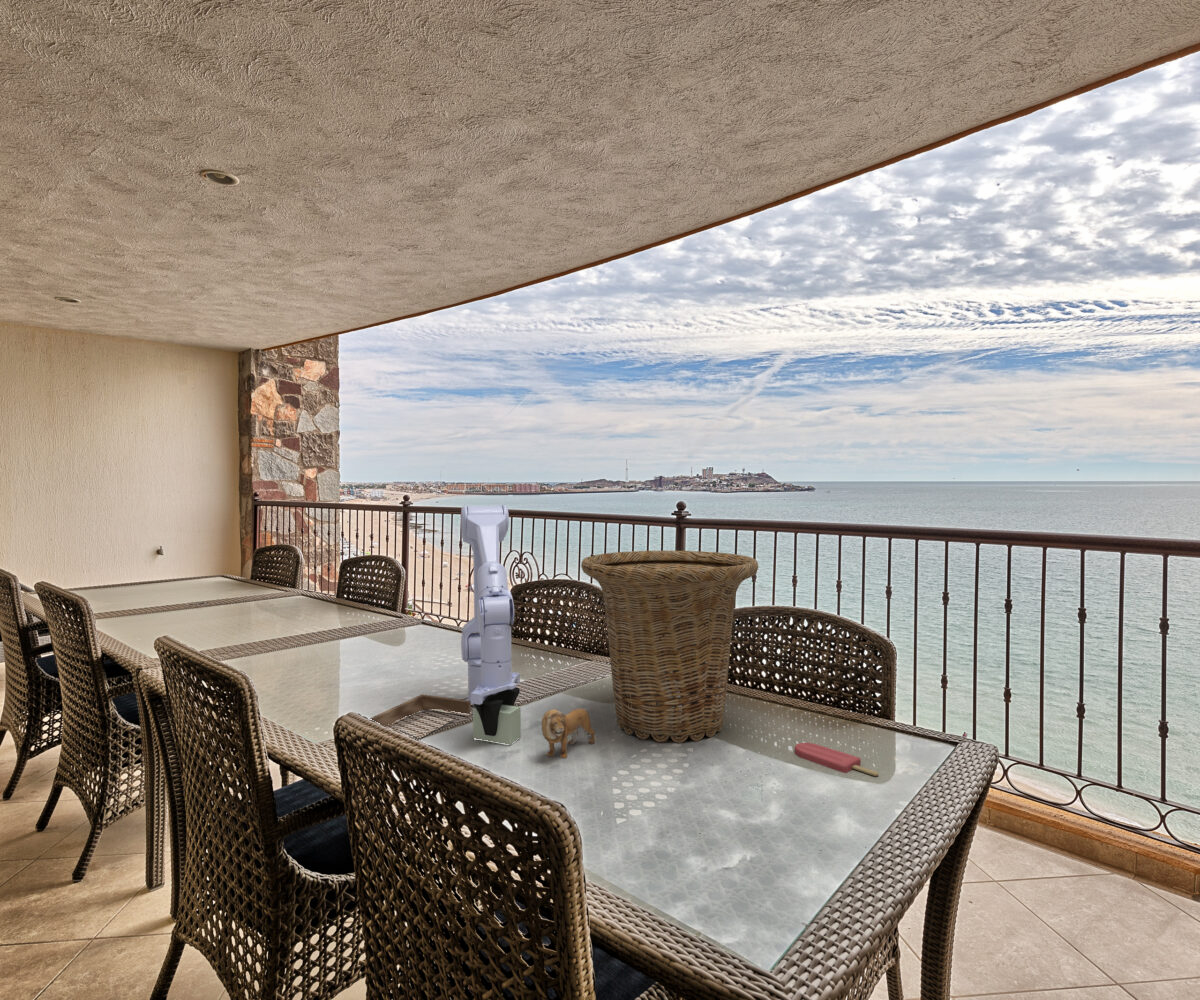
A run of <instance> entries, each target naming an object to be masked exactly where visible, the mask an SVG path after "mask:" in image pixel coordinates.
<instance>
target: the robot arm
mask: <svg viewBox="0 0 1200 1000" xmlns="http://www.w3.org/2000/svg"><path fill="white" fill-rule="evenodd" d="M460 513H461V514H460V527H461V529H460V530H461V539H462V542H464V543H466V544H468V545H470V547H471V550H472V553H473V554H472V555H473V556H472V561H473V565H472V566H473V617H472V619H470V620H469V621H467V623H465V624H464V625H463V626H462V629H461V640H460V643H461V644H460V645H461V646H460V647H461V649H460V650H461V651H460V652H461V659H462V661H463V662H465V663H467V684H468V686H467V688H468V689H467V693H468V695H467V696H468V697H467V698H465V699H464V700H467V701H471V704H473V705H474V706H473V707H474V708H476V709H477V711H478V713H479V716H480V718H481V722H482V725H483V729H484V733H485V735H489V736H495V735H496V733H497V727H498V716H499V711H500V708H501V705H509V706H515V703H516V701H517V699H518V696H519V695H520V692H521V689H520V687H518V684H520V682H521V679H520V678H521V673H520V672H513V671H512V626H513V625H514V620H515V604H514V598H513V595H512V592H511V590H509V583H508V573H507V568H506V567H505V566H504V565H502V564H501V563H500V543H501V542H503V541H504V539H505V537H506V535H507V532H508V531H509V526H510V524H509V519H510V518H509V516H510V515H509V508H508V507H507V506H506V505H505V504H501V505H465V504H463V506H462V507H461V511H460Z"/></svg>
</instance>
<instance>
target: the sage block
mask: <svg viewBox="0 0 1200 1000" xmlns="http://www.w3.org/2000/svg"><path fill="white" fill-rule="evenodd" d="M521 712H522V711H521V706H516V705H514V706H509V705H501V708H500V711H499V716H498V727H497V733H496V735H495V736H489V735H485V733H484V729H483V725H482V722H481V718H480V716H479V713H478V711H477V709H476V708H475V707H473V708H472V739H473V738H476V739H482V740H488V741H493V742H499V743H505V744H509V745H510V744H512V743H513V742H514V741H516V740H517V739H518V738H520V737H521V738H522V734H521V733H522V731H521V730H522V727H521V725H522V724H521V723H522V722H521V720H522V719H521V716H522V715H521ZM512 745H513V744H512Z"/></svg>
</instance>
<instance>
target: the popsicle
mask: <svg viewBox="0 0 1200 1000" xmlns="http://www.w3.org/2000/svg"><path fill="white" fill-rule="evenodd" d="M794 754H795V756H798V757H799V758H801V759H804V760H807V761H808V762H812V763H815V764H818V765H821V766H824V767H826V768H829V769H832V770H835V771H838V772H840V773H844V774H846V773H848V772H850V771H852V770H856V771H858V772H862V773H865V774H868V775H870V776H874V777H878V776H879V772H878V771H877V770H876V771H875V770H872V769H869V768H866V767H864V766H861V765H862V761H861V760H862V759H861V758H860V757H858V756H855V755H852V754H850V753H845V752H842V751H839V750H837V749H836V750H835V749H834V748H833V749H832V748H829V747H826V746H823V745H820V744H816V743H811V742H800V743H797V744H796V745H795V746H794Z"/></svg>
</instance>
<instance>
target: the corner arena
mask: <svg viewBox="0 0 1200 1000" xmlns="http://www.w3.org/2000/svg"><path fill="white" fill-rule="evenodd" d="M429 709H443V710H448V711H455V712H461V713H470V712H471V713H472V706H471V701H467V700H465V699H461V698H460V699H459V698H452V697H451V698H450V697H444V696H436V695H431V694H430V695H429V694H423V693H422V694H419V695H417V696H415V697H413V698H411V699H408V700H407V701H405V702H402V703H400V704H398V705H396V706H394V707H392V708H390V709H387V710H385V711H383V712H380V713H379V714H377V715H375V716H372V717H370V718H369V719H372V720H374V721H376V722H378V723H380V724H382V725H385V726H388V728H390V727H391V726H390V725H392V723H393V722H395V721H396V720H398V719H401V718H403V717H405V716H409V715H412V714H414V713H416V714H417V712H418V713H419V711H420V712H422V711H426V710H429ZM414 715H415V714H414ZM412 716H413V715H412ZM388 724H389V725H388ZM392 726H393V725H392ZM396 729H397V730H398V728H396ZM400 731H401V730H400ZM401 732H403V731H401ZM404 733H405V734H408V733H406V732H404ZM408 735H410V734H408ZM410 736H413V735H410ZM413 737H415V736H413ZM415 738H417V737H415ZM417 740H419V738H418V739H417Z"/></svg>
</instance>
